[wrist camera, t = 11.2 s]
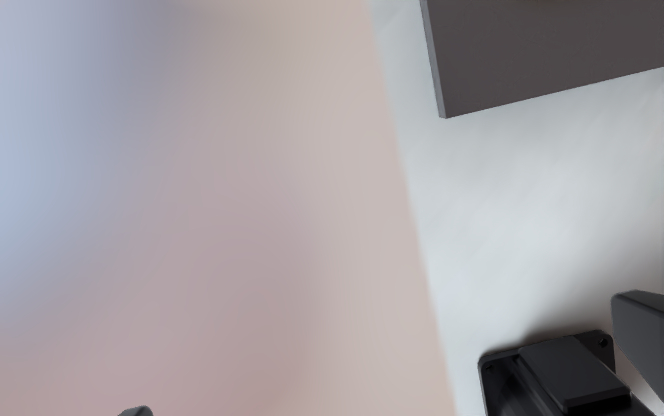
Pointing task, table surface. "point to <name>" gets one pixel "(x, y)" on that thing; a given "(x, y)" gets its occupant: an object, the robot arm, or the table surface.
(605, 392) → the robot arm
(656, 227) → the table surface
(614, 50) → the piston stand
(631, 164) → the table surface
